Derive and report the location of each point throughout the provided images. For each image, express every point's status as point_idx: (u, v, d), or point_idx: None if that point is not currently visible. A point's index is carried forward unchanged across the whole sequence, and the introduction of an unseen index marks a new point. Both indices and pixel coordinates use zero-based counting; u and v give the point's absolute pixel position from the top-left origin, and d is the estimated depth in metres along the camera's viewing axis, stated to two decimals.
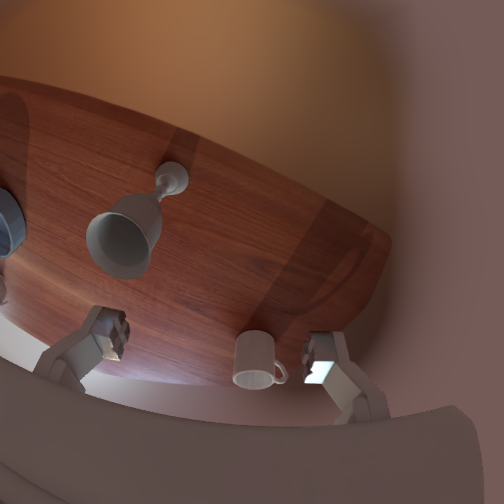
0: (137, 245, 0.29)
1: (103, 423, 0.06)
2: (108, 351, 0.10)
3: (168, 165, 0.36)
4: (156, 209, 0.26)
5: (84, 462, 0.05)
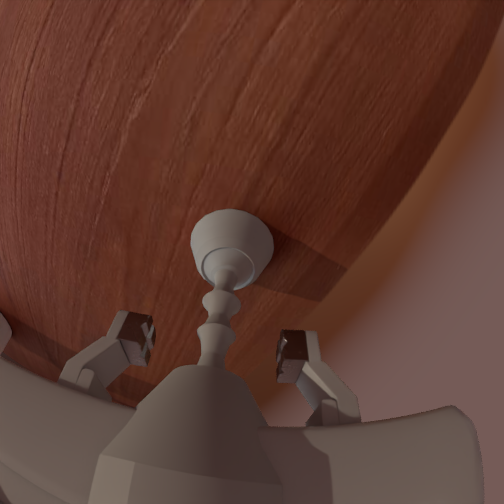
0: None
1: (103, 423, 0.06)
2: (136, 357, 0.10)
3: (267, 253, 0.16)
4: None
5: (84, 461, 0.05)
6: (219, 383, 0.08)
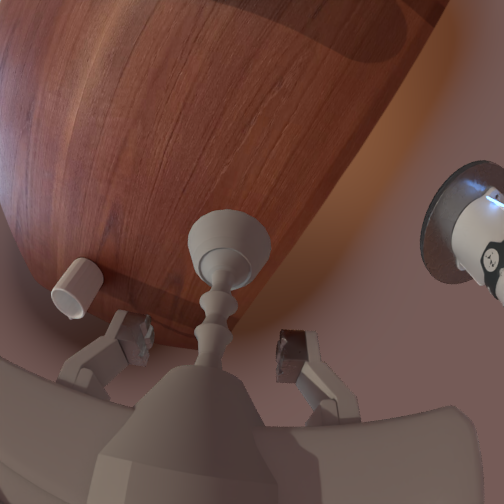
0: None
1: (103, 423, 0.06)
2: (134, 357, 0.10)
3: (264, 253, 0.16)
4: None
5: (84, 461, 0.05)
6: (216, 383, 0.08)
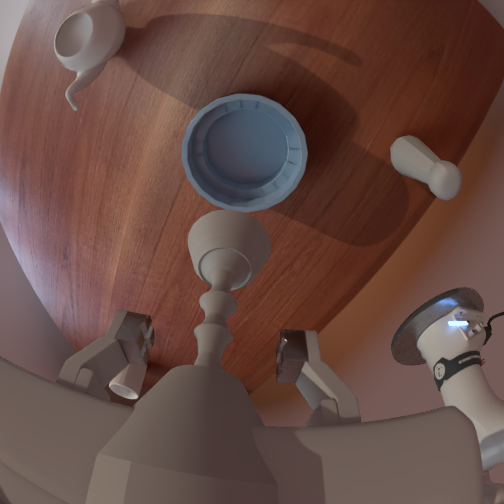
0: None
1: (103, 423, 0.06)
2: (134, 357, 0.10)
3: (264, 253, 0.16)
4: None
5: (84, 461, 0.05)
6: (215, 383, 0.08)
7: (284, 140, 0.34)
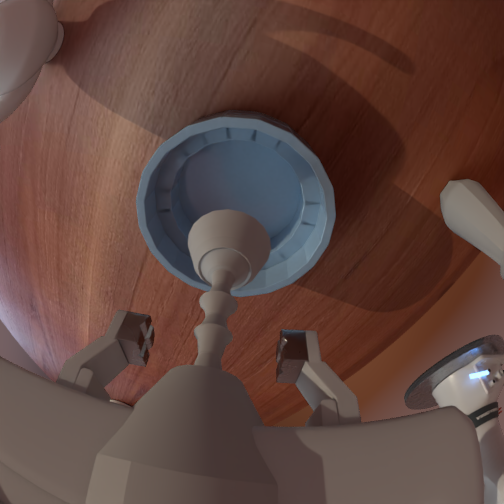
0: None
1: (103, 423, 0.06)
2: (134, 357, 0.10)
3: (264, 253, 0.16)
4: None
5: (84, 461, 0.05)
6: (215, 383, 0.08)
7: (296, 185, 0.23)
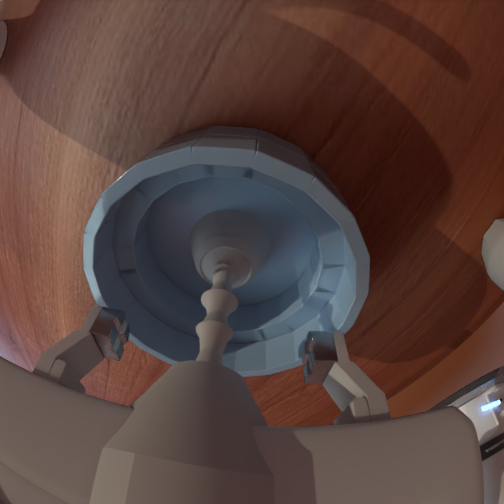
0: None
1: (103, 423, 0.06)
2: (108, 351, 0.10)
3: (265, 252, 0.17)
4: None
5: (84, 461, 0.05)
6: (217, 378, 0.08)
7: (310, 233, 0.17)
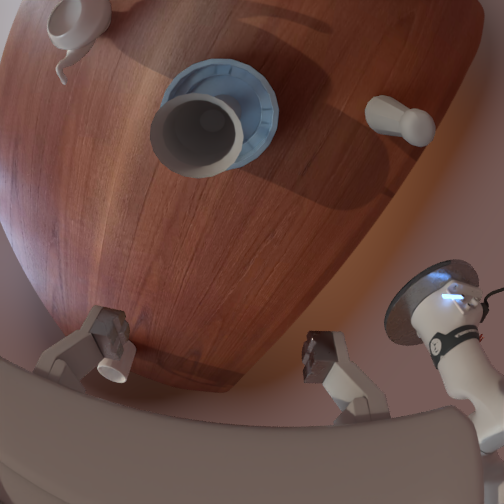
0: (175, 123, 0.23)
1: (103, 423, 0.06)
2: (108, 351, 0.10)
3: (238, 111, 0.33)
4: (222, 152, 0.25)
5: (84, 462, 0.05)
6: (217, 107, 0.25)
7: (258, 104, 0.33)
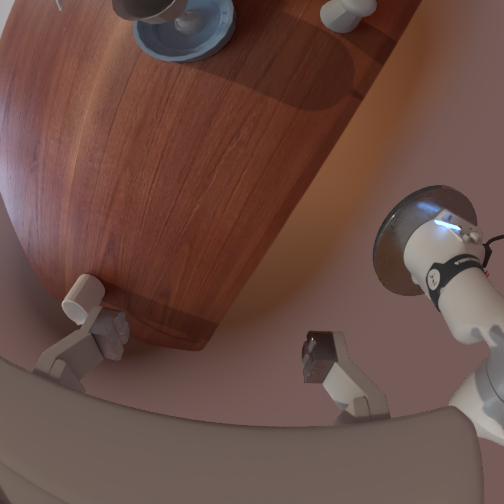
0: (137, 5, 0.19)
1: (103, 423, 0.06)
2: (108, 351, 0.10)
3: (202, 20, 0.29)
4: (173, 18, 0.21)
5: (84, 461, 0.05)
6: None
7: (221, 14, 0.29)
